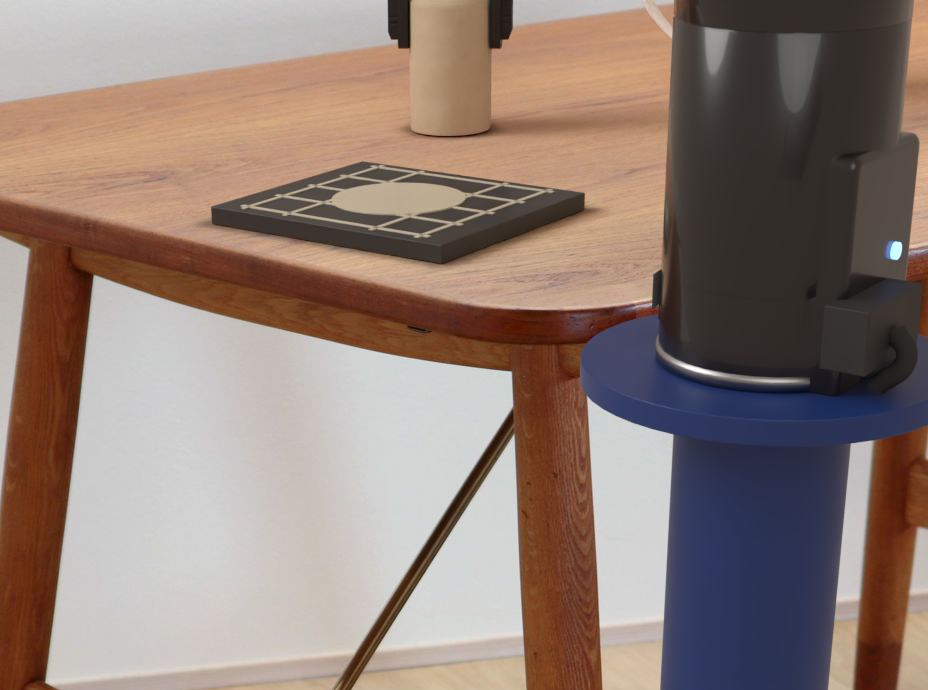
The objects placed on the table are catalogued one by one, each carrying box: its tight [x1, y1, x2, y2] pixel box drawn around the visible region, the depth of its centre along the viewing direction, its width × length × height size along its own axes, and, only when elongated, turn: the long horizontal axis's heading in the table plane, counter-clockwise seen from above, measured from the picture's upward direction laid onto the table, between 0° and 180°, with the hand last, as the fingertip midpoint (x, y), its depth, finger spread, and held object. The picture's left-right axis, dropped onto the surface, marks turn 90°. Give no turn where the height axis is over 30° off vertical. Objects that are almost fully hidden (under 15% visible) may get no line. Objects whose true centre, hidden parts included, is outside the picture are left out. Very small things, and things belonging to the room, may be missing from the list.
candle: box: [408, 0, 493, 137], centre depth 130 cm, size 6×6×10 cm
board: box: [210, 160, 586, 265], centre depth 109 cm, size 16×14×1 cm
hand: (450, 46), depth 129 cm, fingers closed on candle, 5 cm apart
